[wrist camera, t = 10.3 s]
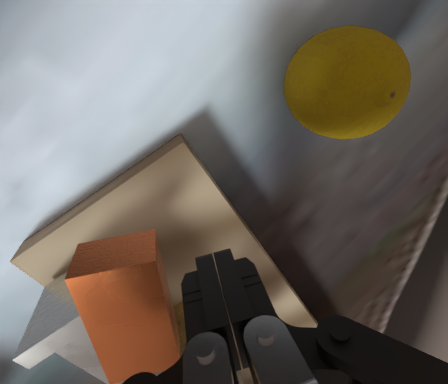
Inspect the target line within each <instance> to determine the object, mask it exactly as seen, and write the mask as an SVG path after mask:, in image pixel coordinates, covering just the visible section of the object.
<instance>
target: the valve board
mask: <svg viewBox="0 0 448 384" xmlns="http://www.w3.org/2000/svg"><path fill="white" fill-rule="evenodd" d="M152 229H155V231H156V235H157V239H158V244H159V248H160V252H161V257H162V261H163V265H164V269H165V274H166V278H167V282H168V287H169V291H170V295H171V299H172V304H173V307H174V306H175V305H177V304H178V303H180V302H181V301H182V291H181V283H182V280H183V278H184V275H185V273H189V272H193V271H196V270H197V267H196V261H195V257H199V256H203V255H206V254H210V253H212V255H213V259H214V254H213V253H214V252H217V251H221V250H225V249H229V248H230V249H231V252H232V255H233V257H234V260H236V259H240V258H244V257H246V258H248V259H249V260H250V261H251V262H253V263H254V264H255V267H256V269H257V271H258V273H259V276H260V278H261V280H262V283H263V285H264V287H265V289H266V291H267V294H268V296H269V298H270V300H271V303H272V305H273V307H274V309H275V312H276V314H277V315H278V317H279V318H280V319H281V320H282V321H284V322H285V323H287V324H289V325H292V326H295V327H314V328H316V327H317V325H318V323H317V321H316V320H315V318H314V317H313V316H312V314H311V313H310V312H309V310H308V309H307V307H306V306H305V305H304V303H303V302H302V301H301V299H300V298H299V296H298V295H297V294H296V292H295V291H294V289H293V288H292V287H291V285H290V284H289V283H288V281H287V280H286V278H285V277H284V276H283V274H282V273H281V272H280V270H279V269H278V267H277V266H276V265H275V263H274V262H273V260H272V259H271V258H270V256H269V255H268V254H267V252H266V251H265V249H264V248H263V247H262V245H261V244H260V243H259V241H258V240H257V238H256V237H255V236H254V234H253V233H252V231H251V230H250V229H249V227H248V226H247V225H246V223H245V222H244V220H243V219H242V218H241V216H240V215H239V214H238V212H237V211H236V209H235V208H234V207H233V205H232V204H231V202H230V201H229V200H228V198H227V197H226V196H225V194H224V193H223V191H222V190H221V189H220V187H219V186H218V185H217V183H216V182H215V180H214V179H213V178H212V176H211V175H210V173H209V172H208V171H207V169H206V168H205V167H204V165H203V164H202V162H201V161H200V160H199V158H198V157H197V156H196V154H195V153H194V151H193V150H192V149H191V147H190V146H189V144H188V143H187V142H186V140H185V139H184V138H183V136H182V135H181V133H180V134H179V135H178V136H176V137H175V138H173V139H172V140H170V141H169V142H167V143H166V144H165V145H163V146H162V147H160V148H159V149H157V150H156V151H154V152H153V153H152V154H150V155H149V156H147V157H146V158H144V159H143V160H141V161H140V162H139V163H137V164H136V165H134V166H133V167H131V168H130V169H128V170H127V171H126V172H124V173H123V174H121V175H120V176H118V177H117V178H115V179H114V180H113V181H111V182H110V183H108V184H107V185H105V186H104V187H102V188H101V189H100V190H98V191H97V192H95V193H94V194H92V195H91V196H89V197H88V198H87V199H85V200H84V201H82V202H81V203H79V204H78V205H76V206H75V207H74V208H72V209H71V210H69V211H68V212H66V213H65V214H64V215H62V216H61V217H59V218H58V219H56V220H55V221H53V222H52V223H51V224H49V225H48V226H46V227H45V228H43V229H42V230H40V231H39V232H38V233H36V234H35V235H33V236H32V237H30V238H29V239H27V240H26V241H25V242H23V243H22V244H21V246H20V247H19V249H18V250H17V252H16V253H15V255H14V256H13V258H12V259H11V261H10V262H11V263H12V264H13V265H15V266H16V267H18V268H19V269H20V270H22V271H23V272H25V273H26V274H27V275H29V276H30V277H31V278H33V279H34V280H36V281H37V282H38V283H40V284H41V285H43V286H44V287H45V286H46V285H48V284H49V283H51V282H52V281H54V280H55V279H56V278H58V277H59V276H61V275H62V274H64V273H65V272H67V271H68V269H69V266H70V264H71V261H72V258H73V256H74V253H75V250H76V248H77V245H78V244H80V243H85V242H90V241H95V240H100V239H106V238H111V237H116V236H121V235H126V234H131V233H137V232H142V231H147V230H152ZM214 262H215V259H214ZM215 266H216V263H215ZM216 270H217V267H216ZM217 274H218V271H217ZM218 278H219V275H218ZM219 281H220V279H219ZM220 285H221V284H220ZM221 289H222V288H221ZM222 293H223V291H222ZM223 297H224V295H223ZM224 300H225V299H224ZM225 304H226V303H225ZM226 308H227V307H226ZM227 312H228V310H227ZM228 316H229V314H228ZM229 319H230V318H229ZM230 323H231V322H230ZM231 327H232V325H231ZM232 331H233V329H232ZM233 336H234V333H233ZM234 340H235V337H234ZM235 344H236V340H235ZM236 348H237V344H236ZM237 352H238V348H237ZM238 357H239V361H240V365H241V369H242V370H240V373H241V377H242V380H243V383H244V384H251V383H252V382H253V380H252V376H251V373H250V369H249V367H248V368H245V369H243V367H242V363H241V359H240V355H239V352H238Z"/></svg>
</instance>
